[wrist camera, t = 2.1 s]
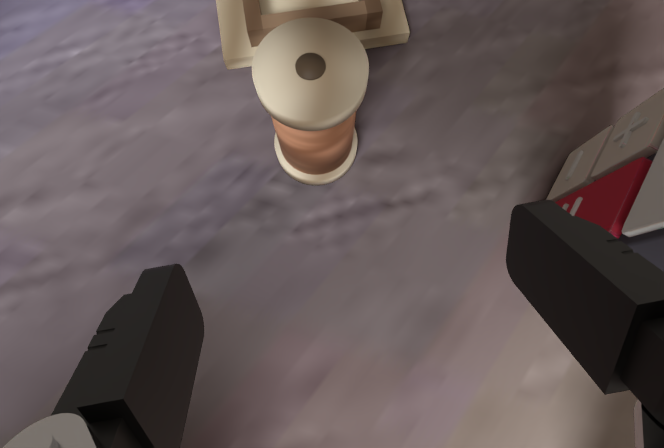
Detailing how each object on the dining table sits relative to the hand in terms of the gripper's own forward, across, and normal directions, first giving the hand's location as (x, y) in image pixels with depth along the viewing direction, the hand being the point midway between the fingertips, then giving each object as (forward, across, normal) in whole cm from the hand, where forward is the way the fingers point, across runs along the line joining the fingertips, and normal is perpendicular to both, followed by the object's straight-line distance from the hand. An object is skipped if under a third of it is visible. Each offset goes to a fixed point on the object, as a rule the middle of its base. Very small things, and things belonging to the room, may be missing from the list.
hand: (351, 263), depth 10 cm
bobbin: (+22, 0, +5) cm, 22 cm away
